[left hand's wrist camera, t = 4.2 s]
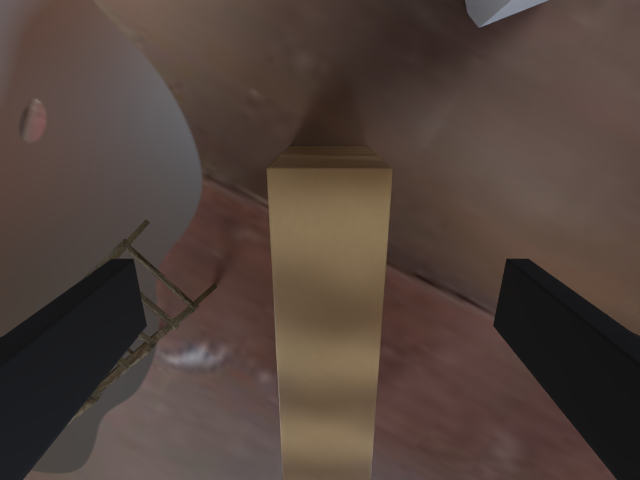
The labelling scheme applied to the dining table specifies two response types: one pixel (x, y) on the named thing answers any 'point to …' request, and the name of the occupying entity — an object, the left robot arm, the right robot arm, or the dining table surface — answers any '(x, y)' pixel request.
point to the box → (328, 305)
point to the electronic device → (496, 9)
